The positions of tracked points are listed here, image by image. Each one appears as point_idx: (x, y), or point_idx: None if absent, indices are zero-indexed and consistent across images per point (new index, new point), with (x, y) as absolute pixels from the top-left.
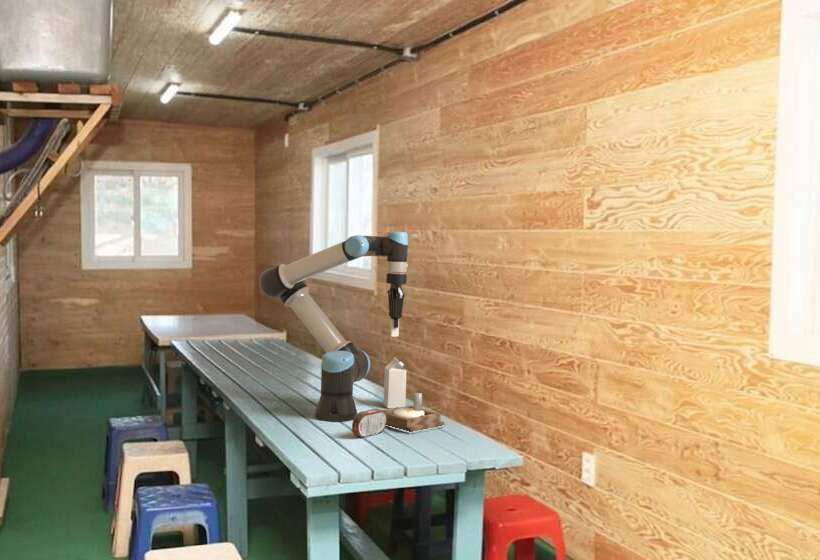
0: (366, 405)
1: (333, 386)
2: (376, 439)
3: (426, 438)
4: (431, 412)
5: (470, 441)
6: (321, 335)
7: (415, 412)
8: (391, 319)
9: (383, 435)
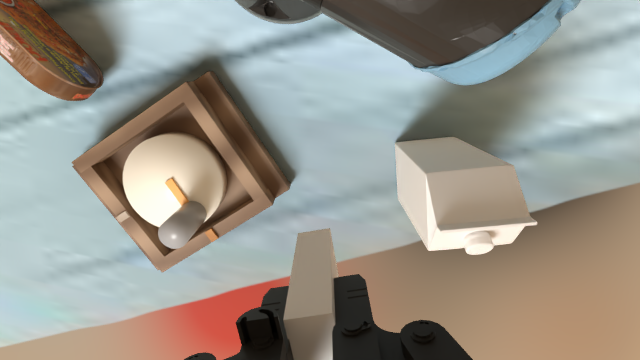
0: None
1: None
2: None
3: (46, 196)
4: (178, 250)
5: (34, 294)
6: None
7: (161, 202)
8: (311, 311)
9: None
